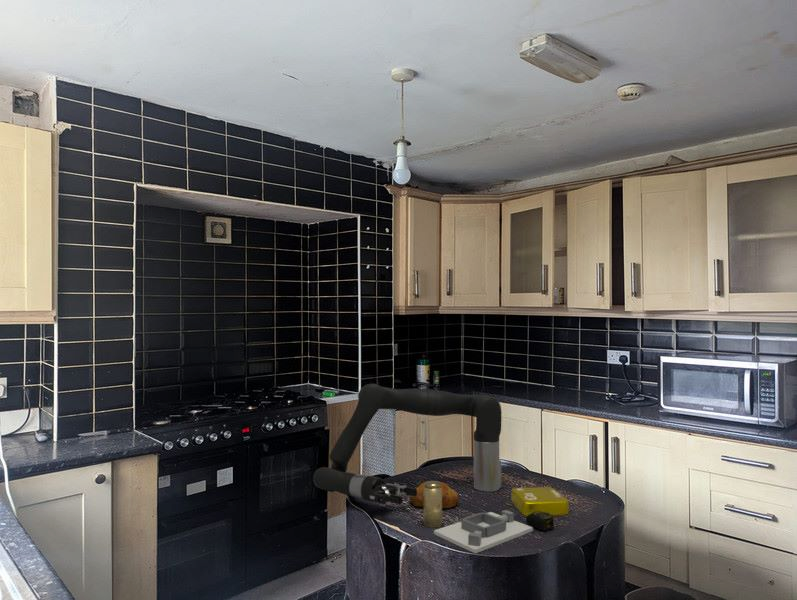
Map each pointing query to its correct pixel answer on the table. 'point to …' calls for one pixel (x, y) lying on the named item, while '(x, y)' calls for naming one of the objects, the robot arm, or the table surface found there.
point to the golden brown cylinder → (432, 504)
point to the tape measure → (540, 520)
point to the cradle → (483, 530)
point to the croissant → (447, 496)
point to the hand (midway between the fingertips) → (409, 496)
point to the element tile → (539, 500)
